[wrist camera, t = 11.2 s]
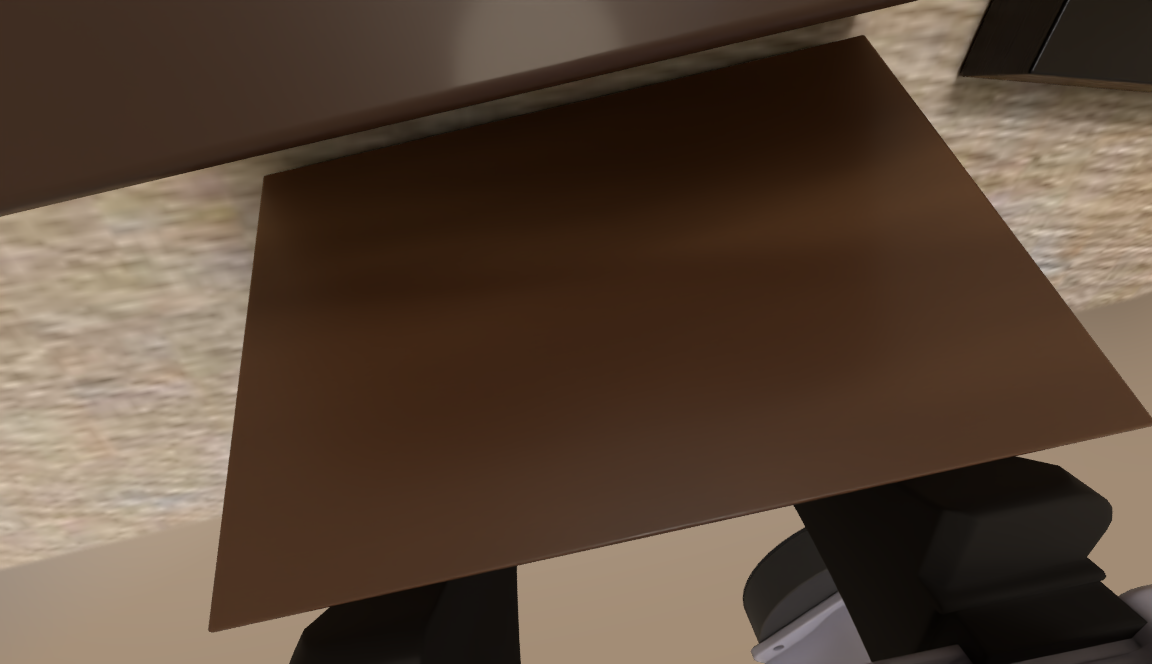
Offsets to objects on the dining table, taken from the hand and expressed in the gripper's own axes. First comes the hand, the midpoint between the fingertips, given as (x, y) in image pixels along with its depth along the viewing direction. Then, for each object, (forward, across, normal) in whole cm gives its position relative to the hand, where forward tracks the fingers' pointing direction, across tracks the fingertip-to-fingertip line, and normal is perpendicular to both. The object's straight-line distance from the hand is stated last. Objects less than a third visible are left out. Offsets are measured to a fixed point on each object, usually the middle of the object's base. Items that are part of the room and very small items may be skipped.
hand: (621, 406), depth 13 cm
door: (+2, 0, -6) cm, 6 cm away
